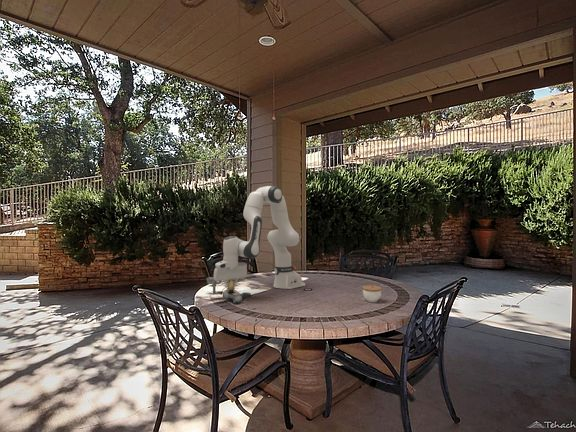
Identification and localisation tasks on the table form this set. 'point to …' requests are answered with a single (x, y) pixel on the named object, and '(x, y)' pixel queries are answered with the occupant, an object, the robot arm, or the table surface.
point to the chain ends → (235, 296)
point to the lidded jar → (372, 293)
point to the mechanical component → (213, 283)
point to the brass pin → (231, 285)
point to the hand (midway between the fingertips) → (230, 286)
